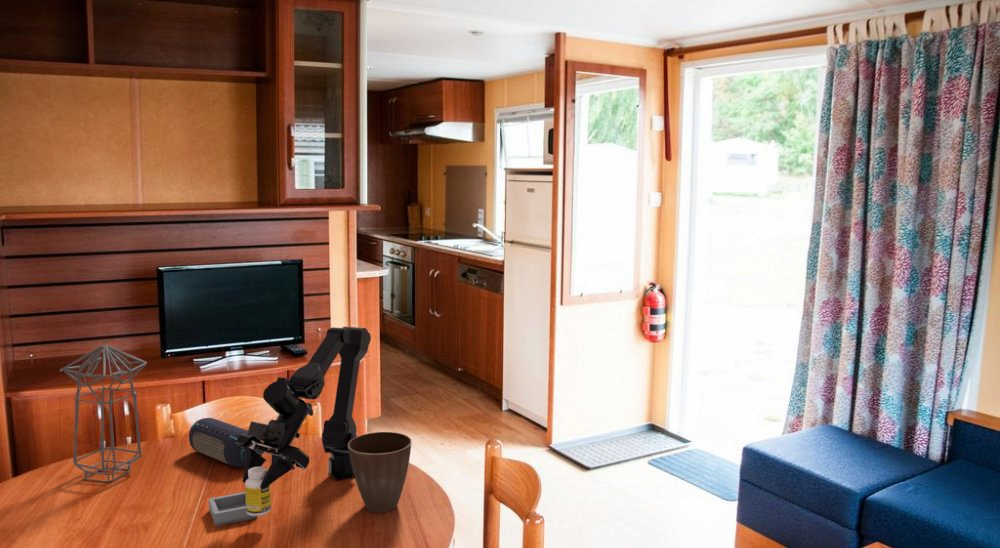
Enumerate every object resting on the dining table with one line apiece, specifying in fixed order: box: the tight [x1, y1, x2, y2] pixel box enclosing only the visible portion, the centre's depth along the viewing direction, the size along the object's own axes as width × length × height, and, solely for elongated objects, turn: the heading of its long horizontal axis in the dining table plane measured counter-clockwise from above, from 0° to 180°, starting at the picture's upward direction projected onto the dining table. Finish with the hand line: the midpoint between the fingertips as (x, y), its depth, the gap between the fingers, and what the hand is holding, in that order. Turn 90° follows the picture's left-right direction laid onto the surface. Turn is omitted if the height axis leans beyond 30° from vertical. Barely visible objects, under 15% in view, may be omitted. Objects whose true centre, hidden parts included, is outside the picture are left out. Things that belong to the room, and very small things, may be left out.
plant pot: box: [348, 431, 413, 514], centre depth 185 cm, size 15×15×16 cm
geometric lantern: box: [59, 344, 148, 483], centre depth 202 cm, size 16×16×35 cm
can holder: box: [208, 491, 258, 527], centre depth 181 cm, size 9×9×3 cm
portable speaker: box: [188, 417, 262, 468], centre depth 215 cm, size 25×10×10 cm, turn 52°
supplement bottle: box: [244, 466, 272, 517], centre depth 173 cm, size 5×5×10 cm
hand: (252, 485), depth 172 cm, fingers closed on supplement bottle, 5 cm apart
